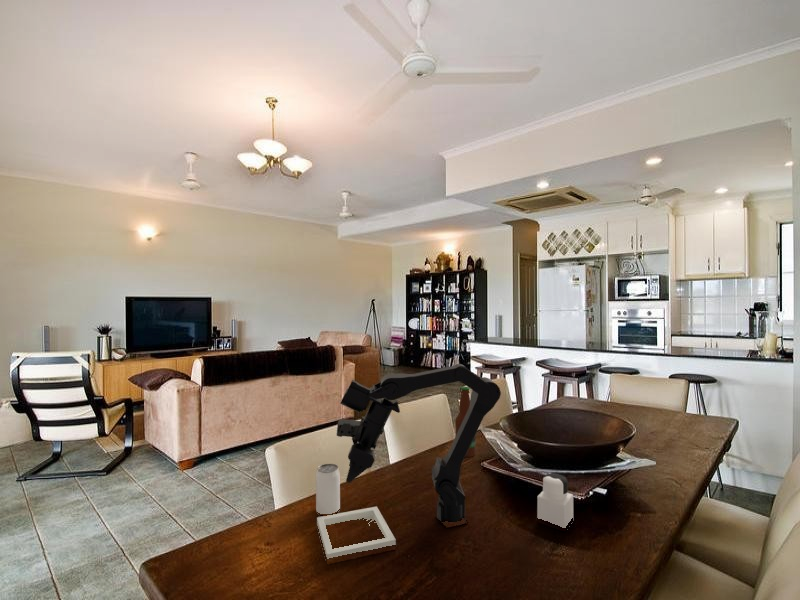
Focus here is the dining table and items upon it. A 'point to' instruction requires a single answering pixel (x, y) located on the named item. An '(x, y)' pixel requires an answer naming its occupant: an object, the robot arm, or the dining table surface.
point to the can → (327, 489)
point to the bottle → (459, 419)
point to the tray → (365, 546)
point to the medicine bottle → (555, 501)
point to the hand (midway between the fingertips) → (349, 473)
